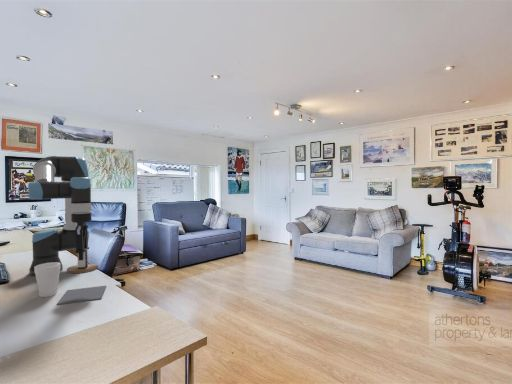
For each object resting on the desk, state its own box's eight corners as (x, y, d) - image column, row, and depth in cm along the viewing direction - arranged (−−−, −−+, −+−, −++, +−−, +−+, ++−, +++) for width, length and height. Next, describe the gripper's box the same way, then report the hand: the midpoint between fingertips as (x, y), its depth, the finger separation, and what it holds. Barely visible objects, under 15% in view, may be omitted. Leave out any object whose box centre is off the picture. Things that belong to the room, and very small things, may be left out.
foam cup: (47, 299, 122) (46, 268, 122) (29, 297, 124) (28, 267, 123) (66, 290, 131) (65, 262, 131) (49, 289, 133) (48, 261, 133)
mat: (67, 291, 131) (67, 290, 131) (106, 286, 137) (106, 285, 137) (56, 305, 116) (56, 303, 116) (101, 299, 122) (101, 298, 122)
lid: (70, 267, 130) (69, 247, 129) (100, 264, 134) (99, 245, 134) (63, 275, 118) (62, 253, 118) (96, 272, 123) (95, 251, 122)
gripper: (76, 211, 132) (77, 261, 133) (66, 215, 116) (67, 272, 117) (94, 210, 134) (95, 259, 135) (87, 214, 119) (88, 270, 120)
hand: (82, 265), depth 126 cm, fingers closed on lid, 3 cm apart
